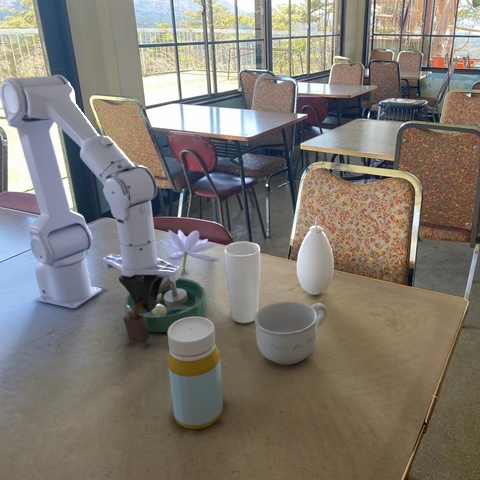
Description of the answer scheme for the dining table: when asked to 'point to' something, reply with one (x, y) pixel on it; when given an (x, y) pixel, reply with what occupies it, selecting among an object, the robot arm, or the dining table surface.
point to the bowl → (190, 308)
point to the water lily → (188, 246)
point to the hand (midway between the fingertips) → (146, 308)
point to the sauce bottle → (315, 261)
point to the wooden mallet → (136, 321)
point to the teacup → (288, 330)
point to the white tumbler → (243, 279)
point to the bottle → (194, 372)
